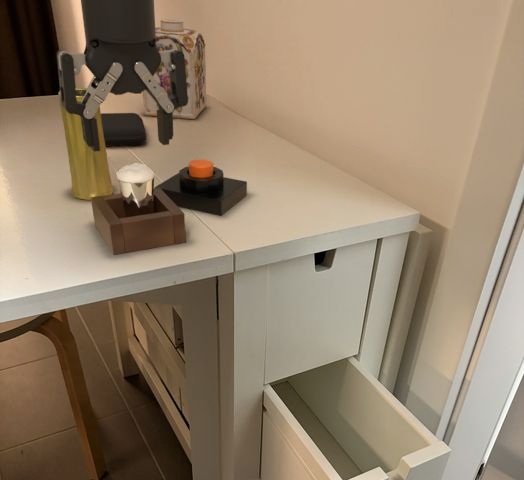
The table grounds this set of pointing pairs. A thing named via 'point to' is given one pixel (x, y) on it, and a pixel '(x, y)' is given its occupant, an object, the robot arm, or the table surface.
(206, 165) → the button
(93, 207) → the socket
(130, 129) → the carrying case
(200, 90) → the decorative jar
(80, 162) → the vase
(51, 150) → the table surface
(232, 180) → the confirm box
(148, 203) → the milkshake
